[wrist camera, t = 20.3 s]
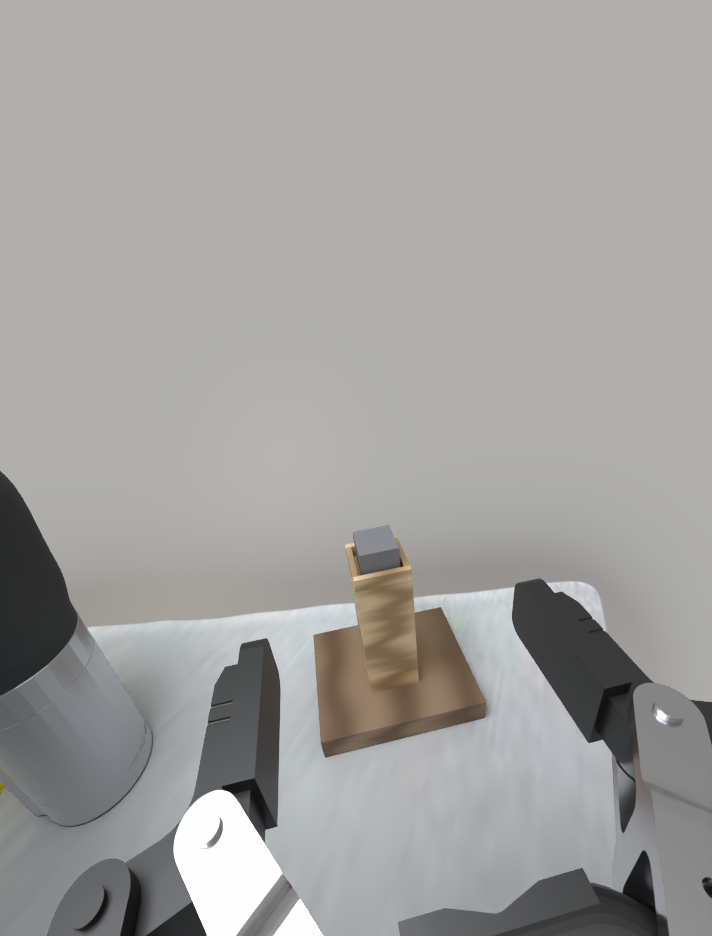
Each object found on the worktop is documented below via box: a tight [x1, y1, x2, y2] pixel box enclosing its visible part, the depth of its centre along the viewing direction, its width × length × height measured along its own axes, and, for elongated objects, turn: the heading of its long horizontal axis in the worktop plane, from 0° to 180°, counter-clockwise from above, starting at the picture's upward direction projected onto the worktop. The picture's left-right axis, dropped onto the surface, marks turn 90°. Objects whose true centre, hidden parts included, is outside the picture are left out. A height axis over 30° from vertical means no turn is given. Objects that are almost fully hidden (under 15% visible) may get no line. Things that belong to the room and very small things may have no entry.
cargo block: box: [353, 525, 400, 575], centre depth 33 cm, size 3×3×3 cm
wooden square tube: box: [345, 535, 419, 694], centre depth 37 cm, size 5×5×15 cm
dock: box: [314, 607, 486, 757], centre depth 41 cm, size 16×12×2 cm
